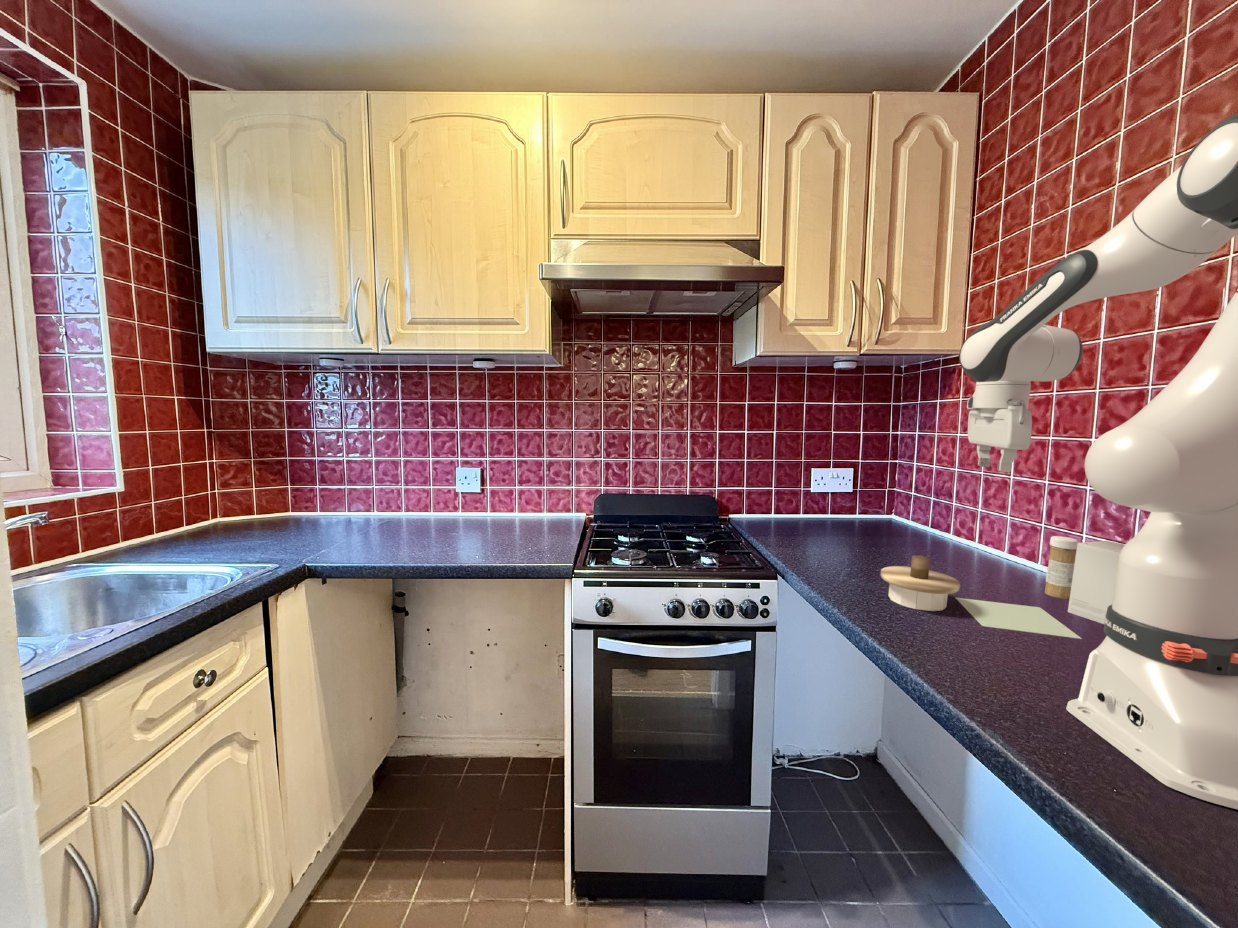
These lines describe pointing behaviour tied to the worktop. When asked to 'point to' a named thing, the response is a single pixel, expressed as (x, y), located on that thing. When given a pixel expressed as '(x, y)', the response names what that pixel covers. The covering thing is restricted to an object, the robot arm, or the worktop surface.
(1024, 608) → the mat
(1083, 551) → the supplement box
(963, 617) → the worktop surface
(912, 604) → the bowl
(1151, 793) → the worktop surface
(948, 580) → the lid
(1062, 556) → the sprinkles bottle
